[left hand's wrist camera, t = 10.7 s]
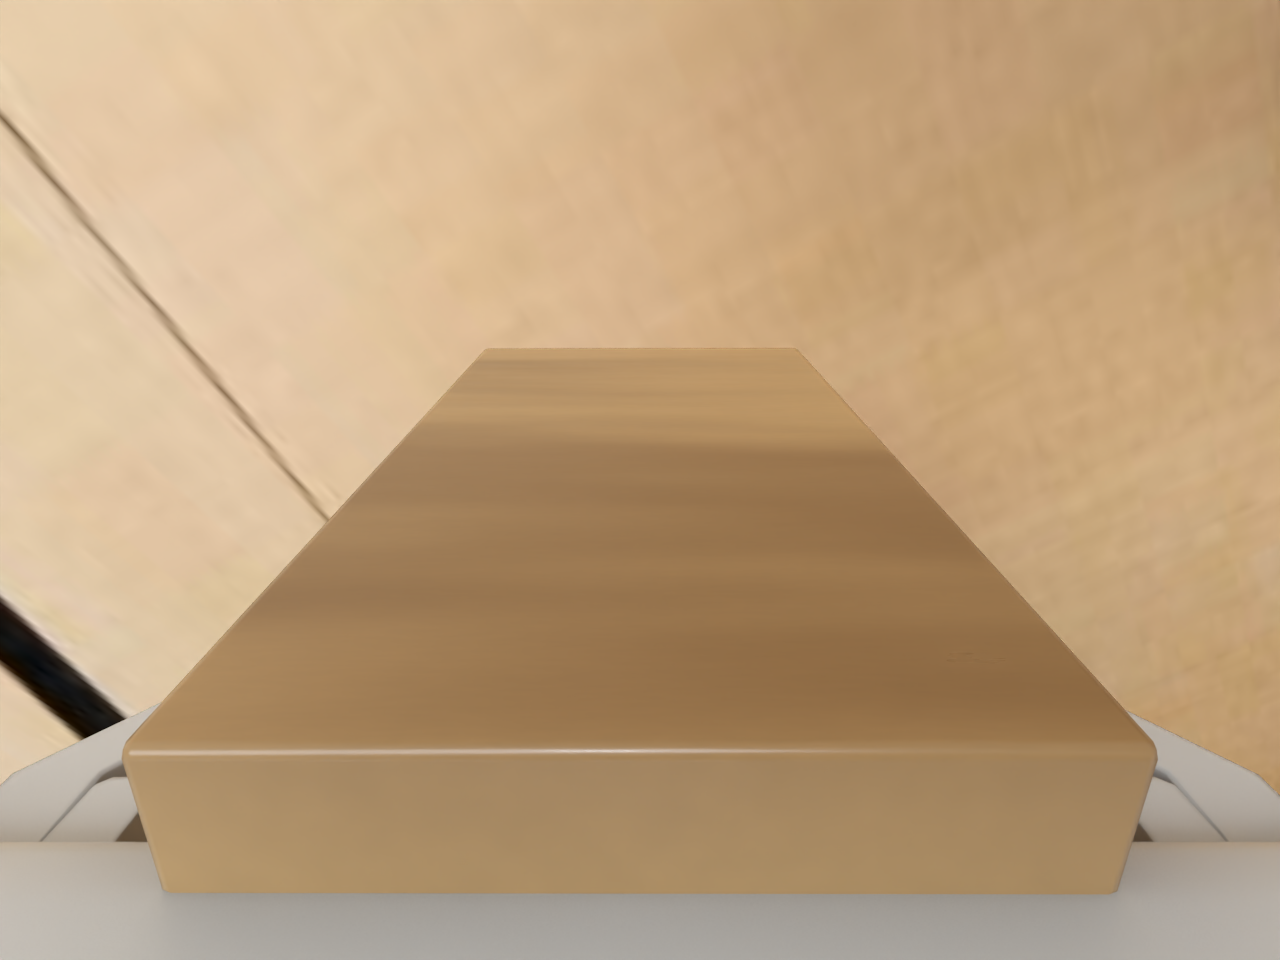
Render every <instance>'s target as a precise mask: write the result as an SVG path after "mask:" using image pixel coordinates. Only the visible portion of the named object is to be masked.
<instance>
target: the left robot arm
mask: <svg viewBox="0 0 1280 960" xmlns="http://www.w3.org/2000/svg"><path fill="white" fill-rule="evenodd" d="M161 703H162V702H161ZM161 703H159V704H157V705H155V706H152V707H150V708H148V709H146V710H144V711H142V712H140V713H138V714H136V715H134V716H132V717H130V718H127V719H125V720H123V721H121V722H119V723H117V724H115V725H113V726H111V727H109V728H107V729H104V730H102V731H100V732H98V733H96V734H94V735H92V736H90V737H88V738H86V739H84V740H82V741H79V742H77V743H75V744H73V745H71V746H69V747H67V748H65V749H63V750H61V751H59V752H56V753H54V754H52V755H50V756H48V757H46V758H44V759H42V760H40V761H38V762H36V763H34V764H31V765H29V766H27V767H25V768H23V769H21V770H19V771H17V772H15V773H13V774H12V775H11V776H10V777H8V778H7V779H6V780H5V781H4V782H3V783H2V784H1V785H0V960H1280V795H1279V794H1278V793H1277V792H1276V791H1275V790H1274V789H1273V788H1272V787H1271V786H1270V785H1269V784H1268V783H1267V782H1265V781H1264V780H1263V779H1262V778H1261V777H1260V776H1259V775H1258V774H1256V773H1254V772H1252V771H1250V770H1248V769H1246V768H1244V767H1242V766H1240V765H1238V764H1235V763H1233V762H1231V761H1229V760H1227V759H1225V758H1223V757H1221V756H1219V755H1217V754H1215V753H1213V752H1211V751H1209V750H1207V749H1205V748H1202V747H1200V746H1198V745H1196V744H1194V743H1192V742H1190V741H1188V740H1186V739H1184V738H1182V737H1180V736H1178V735H1176V734H1174V733H1172V732H1170V731H1167V730H1165V729H1163V728H1161V727H1159V726H1157V725H1155V724H1153V723H1151V722H1149V721H1147V720H1145V719H1143V718H1141V717H1139V716H1137V715H1135V714H1132V713H1130V712H1128V711H1126V710H1125V711H1126V712H1127V713H1128V714H1129V715H1130V716H1131V717H1132V718H1133V720H1134V721H1135V722H1136V723H1137V724H1138V725H1139V726H1140V727H1141V728H1142V729H1143V731H1144V732H1145V733H1146V734H1147V735H1148V736H1149V737H1150V738H1151V739H1152V740H1153V742H1154V744H1155V747H1156V749H1157V756H1158V761H1157V764H1156V767H1155V771H1154V774H1153V777H1152V780H1151V783H1150V787H1149V790H1148V793H1147V796H1146V800H1145V803H1144V806H1143V809H1142V813H1141V816H1140V819H1139V822H1138V826H1137V829H1136V832H1135V835H1134V839H1133V842H1132V845H1131V848H1130V852H1129V855H1128V858H1127V861H1126V865H1125V868H1124V871H1123V874H1122V877H1121V881H1120V884H1119V887H1118V890H1117V892H1114V893H1112V894H529V893H170V892H167V891H165V890H162V886H161V883H160V880H159V877H158V874H157V870H156V867H155V864H154V861H153V858H152V854H151V851H150V848H149V845H148V842H147V838H146V835H145V832H144V829H143V826H142V822H141V819H140V816H139V813H138V810H137V806H136V803H135V800H134V797H133V794H132V790H131V787H130V784H129V781H128V778H127V775H126V771H125V768H124V765H123V762H122V752H123V748H124V745H125V743H126V741H127V740H128V739H129V738H130V736H131V735H132V734H133V733H134V732H135V731H136V730H137V729H138V728H139V727H140V726H141V724H142V723H143V722H144V721H145V720H146V719H147V718H148V717H149V716H150V715H151V714H152V712H153V711H154V710H155V709H156V708H157V707H158V706H159V705H160V704H161Z"/></svg>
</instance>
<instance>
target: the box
mask: <svg viewBox="0 0 1280 960" xmlns="http://www.w3.org/2000/svg"><path fill="white" fill-rule="evenodd" d="M1157 761H1158V756H1157V749H1156V747H1155V744H1154V742H1153V740H1152V739H1151V738H1150V737H1149V736H1148V735H1147V734H1146V733H1145V732H1144V731H1143V729H1142V728H1141V727H1140V726H1139V725H1138V724H1137V723H1136V722H1135V721H1134V720H1133V718H1132V717H1131V716H1130V715H1129V714H1128V713H1127V712H1126V711H1125V710H1124V709H1123V707H1122V706H1121V705H1120V704H1119V703H1118V702H1117V701H1116V700H1115V699H1114V698H1113V696H1112V695H1111V694H1110V693H1109V692H1108V691H1107V690H1106V689H1105V688H1104V687H1103V685H1102V684H1101V683H1100V682H1099V681H1098V680H1097V679H1096V678H1095V677H1094V676H1093V674H1092V673H1091V672H1090V671H1089V670H1088V669H1087V668H1086V667H1085V666H1084V665H1083V663H1082V662H1081V661H1080V660H1079V659H1078V658H1077V657H1076V656H1075V655H1074V654H1073V652H1072V651H1071V650H1070V649H1069V648H1068V647H1067V646H1066V645H1065V644H1064V642H1063V641H1062V640H1061V639H1060V638H1059V637H1058V636H1057V635H1056V634H1055V633H1054V631H1053V630H1052V629H1051V628H1050V627H1049V626H1048V625H1047V624H1046V623H1045V622H1044V620H1043V619H1042V618H1041V617H1040V616H1039V615H1038V614H1037V613H1036V612H1035V611H1034V609H1033V608H1032V607H1031V606H1030V605H1029V604H1028V603H1027V602H1026V601H1025V600H1024V598H1023V597H1022V596H1021V595H1020V594H1019V593H1018V592H1017V591H1016V590H1015V589H1014V587H1013V586H1012V585H1011V584H1010V583H1009V582H1008V581H1007V580H1006V579H1005V578H1004V576H1003V575H1002V574H1001V573H1000V572H999V571H998V570H997V569H996V568H995V567H994V565H993V564H992V563H991V562H990V561H989V560H988V559H987V558H986V557H985V556H984V554H983V553H982V552H981V551H980V550H979V549H978V548H977V547H976V546H975V545H974V543H973V542H972V541H971V540H970V539H969V538H968V537H967V536H966V535H965V534H964V532H963V531H962V530H961V529H960V528H959V527H958V526H957V525H956V524H955V522H954V521H953V520H952V519H951V518H950V517H949V516H948V515H947V514H946V513H945V511H944V510H943V509H942V508H941V507H940V506H939V505H938V504H937V503H936V502H935V500H934V499H933V498H932V497H931V496H930V495H929V494H928V493H927V492H926V491H925V489H924V488H923V487H922V486H921V485H920V484H919V483H918V482H917V481H916V480H915V478H914V477H913V476H912V475H911V474H910V473H909V472H908V471H907V470H906V469H905V467H904V466H903V465H902V464H901V463H900V462H899V461H898V460H897V459H896V458H895V456H894V455H893V454H892V453H891V452H890V451H889V450H888V449H887V448H886V447H885V445H884V444H883V443H882V442H881V441H880V440H879V439H878V438H877V437H876V436H875V434H874V433H873V432H872V431H871V430H870V429H869V428H868V427H867V426H866V425H865V423H864V422H863V421H862V420H861V419H860V418H859V417H858V416H857V415H856V414H855V412H854V411H853V410H852V409H851V408H850V407H849V406H848V405H847V404H846V402H845V401H844V400H843V399H842V398H841V397H840V396H839V395H838V394H837V393H836V391H835V390H834V389H833V388H832V387H831V386H830V385H829V384H828V383H827V382H826V380H825V379H824V378H823V377H822V376H821V375H820V374H819V373H818V372H817V371H816V369H815V368H814V367H813V366H812V365H811V364H810V363H809V362H808V361H807V360H806V358H805V357H804V356H803V355H802V354H801V353H800V352H799V351H798V350H797V349H795V348H544V349H486V350H484V351H483V352H482V354H481V355H480V356H479V357H478V358H477V359H476V360H475V361H474V362H473V363H472V364H471V366H470V367H469V368H468V369H467V370H466V371H465V372H464V373H463V374H462V375H461V376H460V378H459V379H458V380H457V381H456V382H455V383H454V384H453V385H452V386H451V387H450V388H449V390H448V391H447V392H446V393H445V394H444V395H443V396H442V397H441V398H440V399H439V400H438V402H437V403H436V404H435V405H434V406H433V407H432V408H431V409H430V410H429V411H428V412H427V414H426V415H425V416H424V417H423V418H422V419H421V420H420V421H419V422H418V423H417V424H416V426H415V427H414V428H413V429H412V430H411V431H410V432H409V433H408V434H407V435H406V436H405V438H404V439H403V440H402V441H401V442H400V443H399V444H398V445H397V446H396V447H395V448H394V450H393V451H392V452H391V453H390V454H389V455H388V456H387V457H386V458H385V459H384V460H383V462H382V463H381V464H380V465H379V466H378V467H377V468H376V469H375V470H374V471H373V472H372V474H371V475H370V476H369V477H368V478H367V479H366V480H365V481H364V482H363V483H362V484H361V486H360V487H359V488H358V489H357V490H356V491H355V492H354V493H353V494H352V495H351V496H350V498H349V499H348V500H347V501H346V502H345V503H344V504H343V505H342V506H341V507H340V508H339V510H338V511H337V512H336V513H335V514H334V515H333V516H332V517H331V518H330V519H329V520H328V522H327V523H326V524H325V525H324V526H323V527H322V528H321V529H320V530H319V531H318V532H317V534H316V535H315V536H314V537H313V538H312V539H311V540H310V541H309V542H308V543H307V544H306V546H305V547H304V548H303V549H302V550H301V551H300V552H299V553H298V554H297V555H296V556H295V558H294V559H293V560H292V561H291V562H290V563H289V564H288V565H287V566H286V567H285V568H284V570H283V571H282V572H281V573H280V574H279V575H278V576H277V577H276V578H275V579H274V580H273V582H272V583H271V584H270V585H269V586H268V587H267V588H266V589H265V590H264V591H263V592H262V594H261V595H260V596H259V597H258V598H257V599H256V600H255V601H254V602H253V603H252V604H251V606H250V607H249V608H248V609H247V610H246V611H245V612H244V613H243V614H242V615H241V616H240V618H239V619H238V620H237V621H236V622H235V623H234V624H233V625H232V626H231V627H230V628H229V630H228V631H227V632H226V633H225V634H224V635H223V636H222V637H221V638H220V639H219V640H218V642H217V643H216V644H215V645H214V646H213V647H212V648H211V649H210V650H209V651H208V652H207V654H206V655H205V656H204V657H203V658H202V659H201V660H200V661H199V662H198V663H197V664H196V666H195V667H194V668H193V669H192V670H191V671H190V672H189V673H188V674H187V675H186V676H185V678H184V679H183V680H182V681H181V682H180V683H179V684H178V685H177V686H176V687H175V688H174V690H173V691H172V692H171V693H170V694H169V695H168V696H167V697H166V698H165V699H164V700H163V702H162V703H161V704H160V705H159V706H158V707H157V708H156V709H155V710H154V711H153V712H152V714H151V715H150V716H149V717H148V718H147V719H146V720H145V721H144V722H143V723H142V724H141V726H140V727H139V728H138V729H137V730H136V731H135V732H134V733H133V734H132V735H131V736H130V738H129V739H128V740H127V741H126V743H125V745H124V748H123V752H122V762H123V765H124V768H125V771H126V775H127V778H128V781H129V784H130V787H131V790H132V794H133V797H134V800H135V803H136V806H137V810H138V813H139V816H140V819H141V822H142V826H143V829H144V832H145V835H146V838H147V842H148V845H149V848H150V851H151V854H152V858H153V861H154V864H155V867H156V870H157V874H158V877H159V880H160V883H161V886H162V890H165V891H167V892H170V893H529V894H1112V893H1114V892H1117V890H1118V887H1119V884H1120V881H1121V877H1122V874H1123V871H1124V868H1125V865H1126V861H1127V858H1128V855H1129V852H1130V848H1131V845H1132V842H1133V839H1134V835H1135V832H1136V829H1137V826H1138V822H1139V819H1140V816H1141V813H1142V809H1143V806H1144V803H1145V800H1146V796H1147V793H1148V790H1149V787H1150V783H1151V780H1152V777H1153V774H1154V771H1155V767H1156V764H1157Z"/></svg>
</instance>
